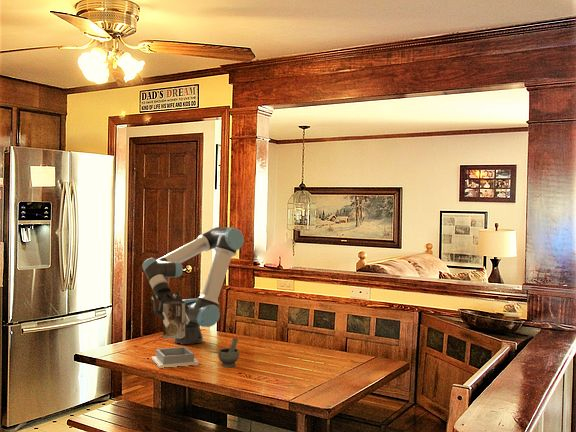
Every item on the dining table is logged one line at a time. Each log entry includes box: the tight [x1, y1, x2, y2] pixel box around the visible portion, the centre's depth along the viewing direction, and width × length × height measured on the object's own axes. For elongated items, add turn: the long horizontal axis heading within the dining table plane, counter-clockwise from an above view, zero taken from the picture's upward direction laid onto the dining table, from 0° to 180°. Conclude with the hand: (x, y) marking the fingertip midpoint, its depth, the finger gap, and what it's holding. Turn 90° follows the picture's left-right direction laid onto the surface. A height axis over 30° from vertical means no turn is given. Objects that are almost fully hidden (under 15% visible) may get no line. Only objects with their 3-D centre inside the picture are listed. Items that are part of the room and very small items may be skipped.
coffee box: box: [162, 302, 185, 339], centre depth 281 cm, size 9×6×16 cm
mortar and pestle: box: [217, 337, 240, 368], centre depth 278 cm, size 11×9×12 cm
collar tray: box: [150, 346, 200, 369], centre depth 282 cm, size 18×18×5 cm
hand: (177, 323), depth 279 cm, fingers closed on coffee box, 10 cm apart
